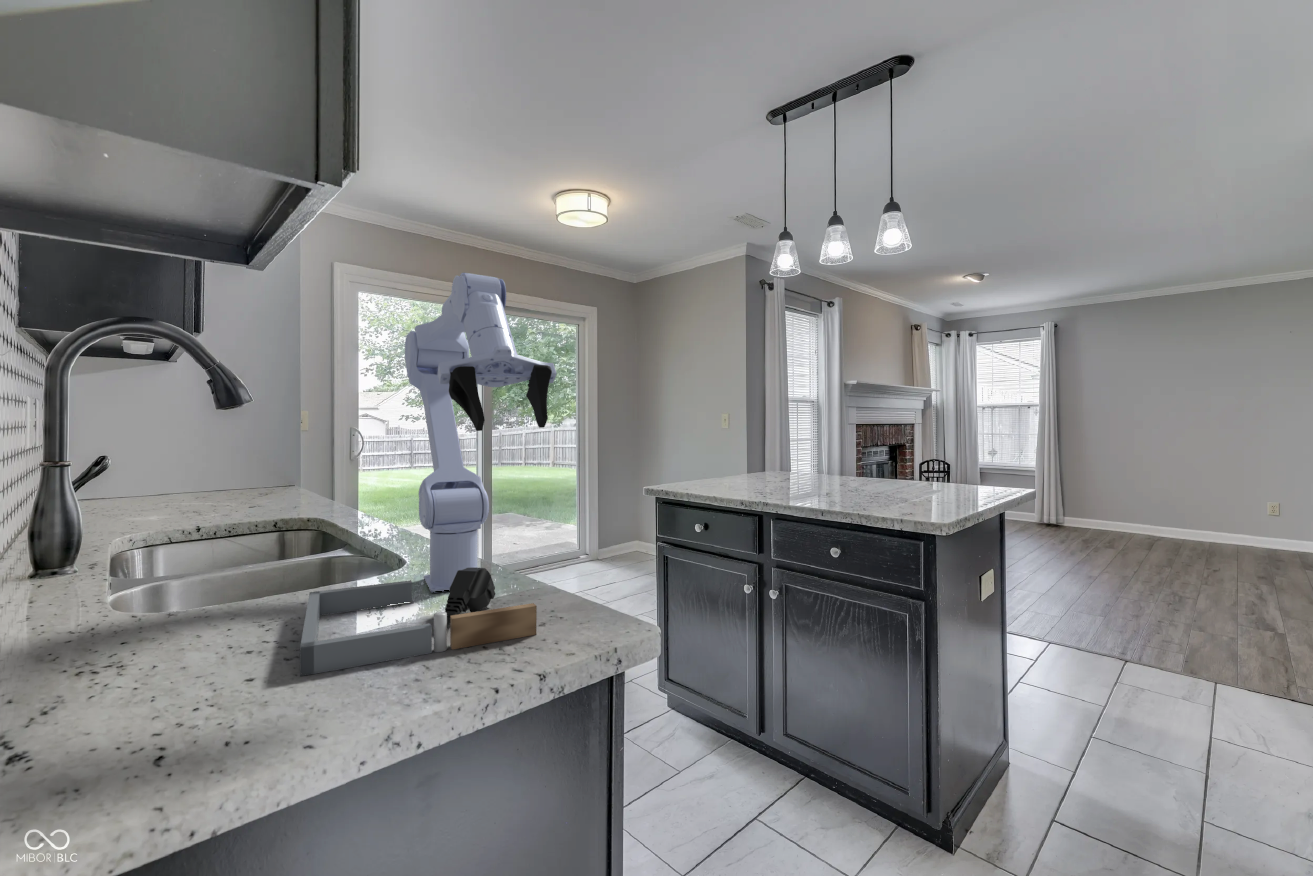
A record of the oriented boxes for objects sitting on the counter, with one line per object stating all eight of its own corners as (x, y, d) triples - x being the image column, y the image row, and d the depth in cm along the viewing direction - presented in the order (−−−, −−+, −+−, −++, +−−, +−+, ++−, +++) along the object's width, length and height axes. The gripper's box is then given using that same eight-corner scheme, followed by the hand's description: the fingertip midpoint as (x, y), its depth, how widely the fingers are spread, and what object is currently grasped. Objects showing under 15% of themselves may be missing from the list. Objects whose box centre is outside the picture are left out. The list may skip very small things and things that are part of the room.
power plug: (417, 631, 69) (453, 555, 79) (435, 666, 74) (467, 590, 83) (462, 633, 69) (493, 557, 78) (477, 668, 73) (504, 592, 83)
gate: (452, 649, 66) (452, 618, 66) (450, 646, 67) (450, 615, 67) (536, 634, 71) (536, 605, 70) (533, 631, 72) (533, 603, 71)
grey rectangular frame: (309, 614, 77) (309, 583, 77) (423, 599, 84) (423, 570, 84) (300, 677, 58) (299, 636, 58) (447, 650, 65) (447, 614, 65)
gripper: (435, 317, 69) (454, 405, 62) (550, 322, 76) (578, 401, 69) (430, 358, 74) (447, 442, 67) (539, 359, 81) (563, 435, 74)
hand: (512, 424), depth 68 cm, fingers open, 7 cm apart
